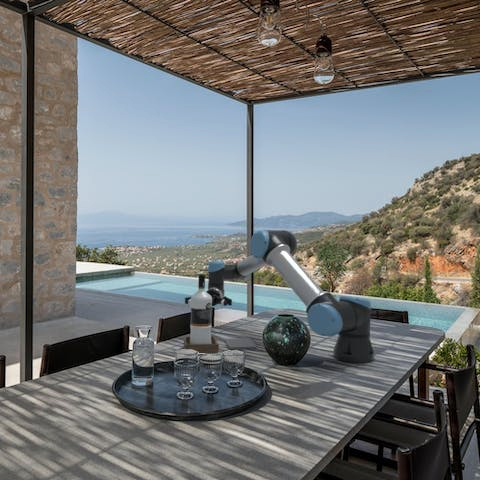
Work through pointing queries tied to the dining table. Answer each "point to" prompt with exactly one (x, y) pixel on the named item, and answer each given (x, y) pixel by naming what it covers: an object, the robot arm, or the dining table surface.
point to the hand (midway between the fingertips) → (205, 304)
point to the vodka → (201, 315)
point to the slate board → (240, 344)
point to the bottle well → (202, 346)
